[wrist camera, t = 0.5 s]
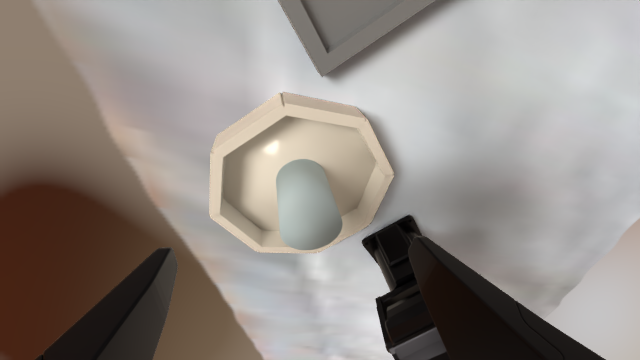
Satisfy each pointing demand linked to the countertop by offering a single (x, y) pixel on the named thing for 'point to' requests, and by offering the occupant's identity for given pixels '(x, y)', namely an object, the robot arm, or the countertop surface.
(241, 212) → the bowl
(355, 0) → the tray
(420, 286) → the robot arm
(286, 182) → the peg
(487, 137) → the countertop surface
